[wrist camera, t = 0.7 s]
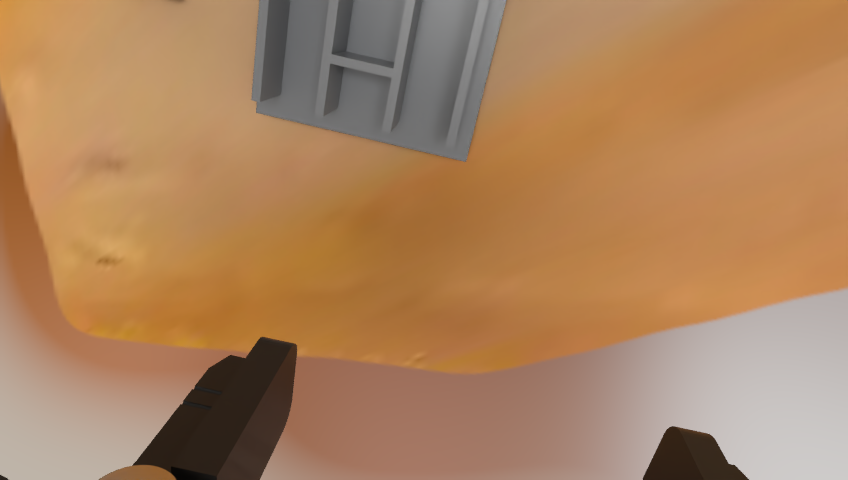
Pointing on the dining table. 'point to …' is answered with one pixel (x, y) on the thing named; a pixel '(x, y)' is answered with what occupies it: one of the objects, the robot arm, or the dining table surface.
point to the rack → (378, 67)
